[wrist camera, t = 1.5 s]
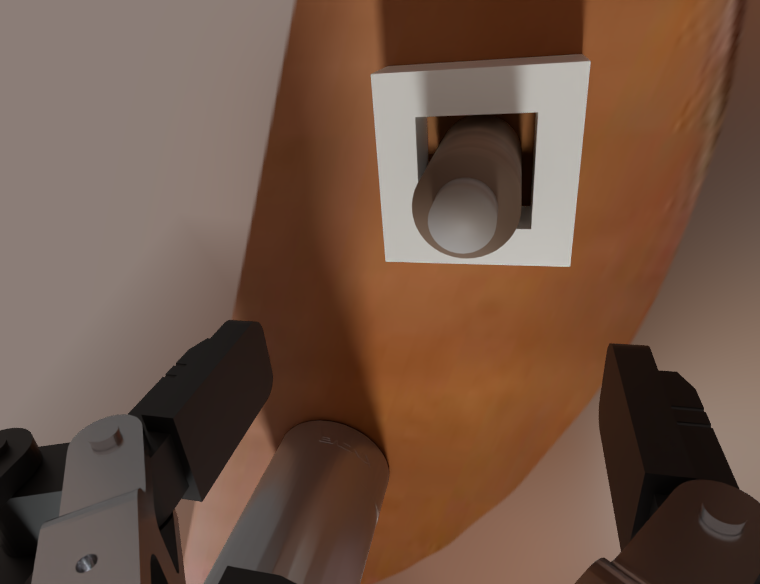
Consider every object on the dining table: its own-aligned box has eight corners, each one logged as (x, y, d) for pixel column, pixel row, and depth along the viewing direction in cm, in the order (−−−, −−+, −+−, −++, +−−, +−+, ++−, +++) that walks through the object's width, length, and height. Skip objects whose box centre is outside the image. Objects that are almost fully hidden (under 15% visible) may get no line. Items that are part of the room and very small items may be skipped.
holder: (565, 239, 30) (570, 266, 27) (398, 237, 32) (385, 261, 29) (582, 53, 25) (590, 61, 22) (387, 66, 28) (370, 74, 25)
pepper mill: (494, 208, 30) (483, 292, 21) (425, 172, 30) (386, 241, 21) (537, 138, 28) (545, 200, 19) (463, 98, 27) (437, 143, 19)
